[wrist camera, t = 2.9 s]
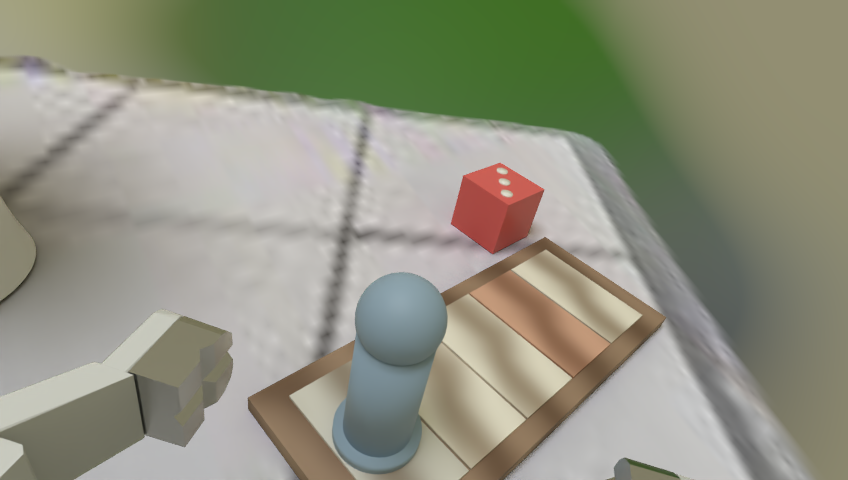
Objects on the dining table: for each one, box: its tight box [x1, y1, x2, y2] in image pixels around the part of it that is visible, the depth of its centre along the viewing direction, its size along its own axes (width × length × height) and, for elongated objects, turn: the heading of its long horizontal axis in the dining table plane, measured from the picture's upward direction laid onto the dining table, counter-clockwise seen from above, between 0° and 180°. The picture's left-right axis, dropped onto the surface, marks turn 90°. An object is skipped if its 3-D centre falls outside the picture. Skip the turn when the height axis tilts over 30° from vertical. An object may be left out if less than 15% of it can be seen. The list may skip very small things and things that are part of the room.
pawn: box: [332, 272, 448, 474], centre depth 29 cm, size 6×6×13 cm
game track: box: [248, 237, 666, 480], centre depth 41 cm, size 34×14×1 cm, turn 133°
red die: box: [451, 163, 544, 254], centre depth 55 cm, size 6×6×6 cm
